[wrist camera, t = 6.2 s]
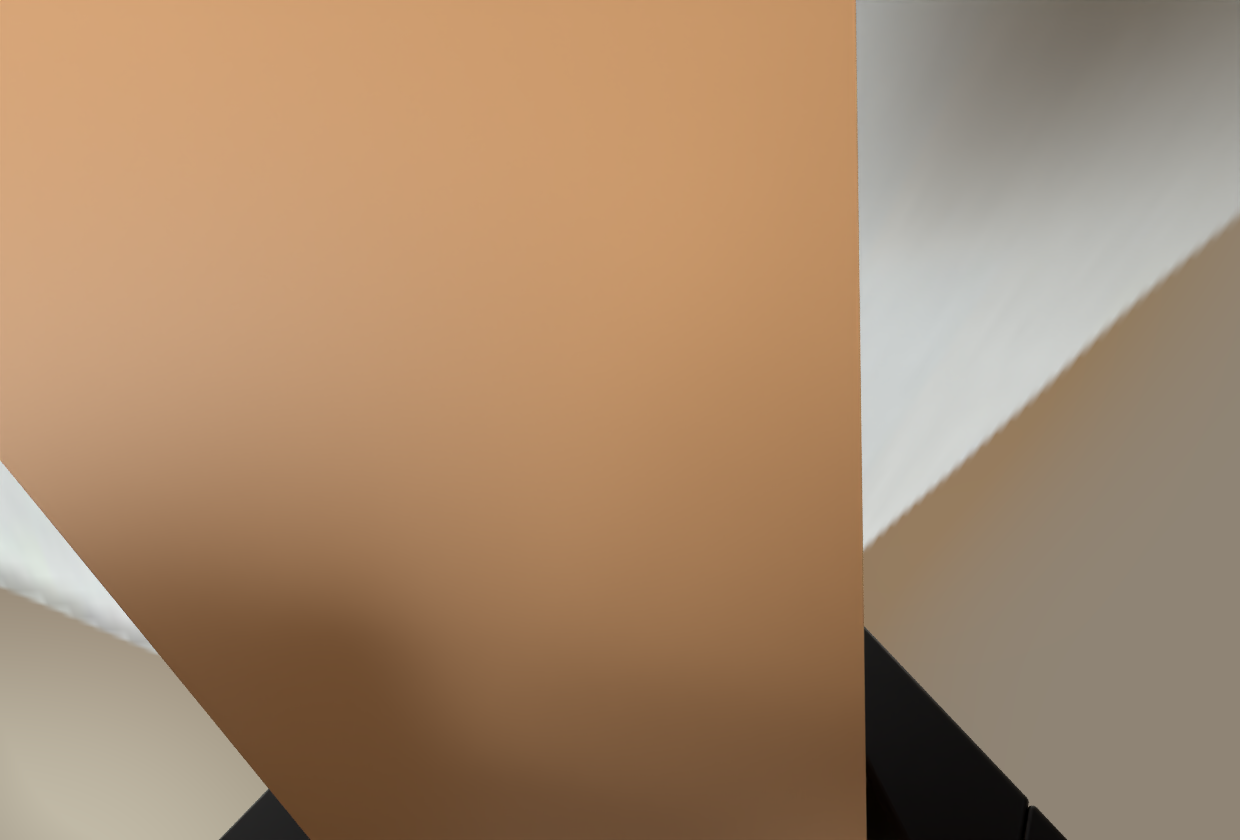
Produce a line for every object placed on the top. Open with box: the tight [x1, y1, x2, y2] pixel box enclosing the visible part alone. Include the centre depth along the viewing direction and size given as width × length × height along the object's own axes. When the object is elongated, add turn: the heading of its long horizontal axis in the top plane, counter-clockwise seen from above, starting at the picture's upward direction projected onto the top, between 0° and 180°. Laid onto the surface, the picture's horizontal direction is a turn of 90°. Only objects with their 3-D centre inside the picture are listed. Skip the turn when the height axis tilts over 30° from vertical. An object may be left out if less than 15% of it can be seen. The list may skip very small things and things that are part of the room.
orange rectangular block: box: [0, 0, 867, 840], centre depth 6 cm, size 4×10×4 cm, turn 12°
